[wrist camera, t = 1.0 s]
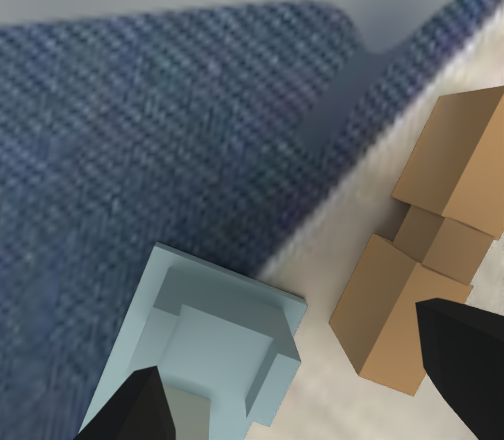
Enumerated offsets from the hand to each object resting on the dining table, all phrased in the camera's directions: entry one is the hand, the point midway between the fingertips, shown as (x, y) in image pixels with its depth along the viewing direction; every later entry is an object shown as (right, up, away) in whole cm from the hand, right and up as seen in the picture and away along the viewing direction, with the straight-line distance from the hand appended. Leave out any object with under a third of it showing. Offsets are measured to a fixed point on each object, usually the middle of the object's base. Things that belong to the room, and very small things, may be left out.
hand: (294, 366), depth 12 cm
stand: (-5, -5, +11) cm, 13 cm away
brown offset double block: (+6, +4, +10) cm, 12 cm away
